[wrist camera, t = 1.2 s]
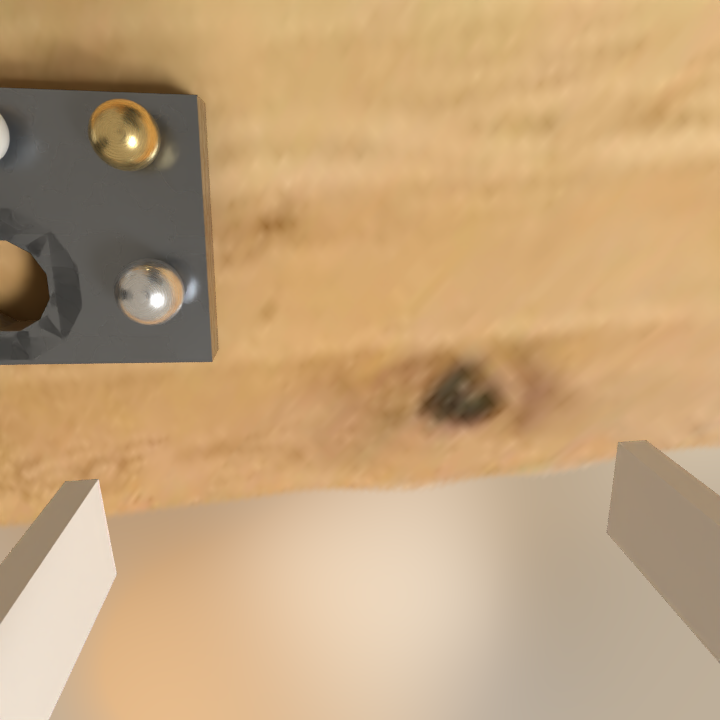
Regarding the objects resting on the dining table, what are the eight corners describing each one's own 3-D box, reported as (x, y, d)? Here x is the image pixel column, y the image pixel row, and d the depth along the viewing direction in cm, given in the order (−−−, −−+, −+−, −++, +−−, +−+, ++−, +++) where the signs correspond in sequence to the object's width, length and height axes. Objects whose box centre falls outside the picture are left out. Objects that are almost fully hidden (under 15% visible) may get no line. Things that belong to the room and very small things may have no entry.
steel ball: (121, 254, 28) (100, 262, 25) (187, 255, 28) (174, 262, 25) (127, 318, 29) (108, 332, 26) (192, 317, 29) (179, 331, 26)
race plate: (-93, 92, 27) (-131, 82, 25) (205, 103, 29) (196, 95, 26) (-44, 352, 31) (-72, 365, 28) (218, 349, 32) (212, 361, 30)
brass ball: (97, 103, 26) (72, 91, 23) (164, 105, 26) (148, 94, 23) (104, 171, 27) (81, 168, 24) (169, 173, 27) (154, 170, 24)
